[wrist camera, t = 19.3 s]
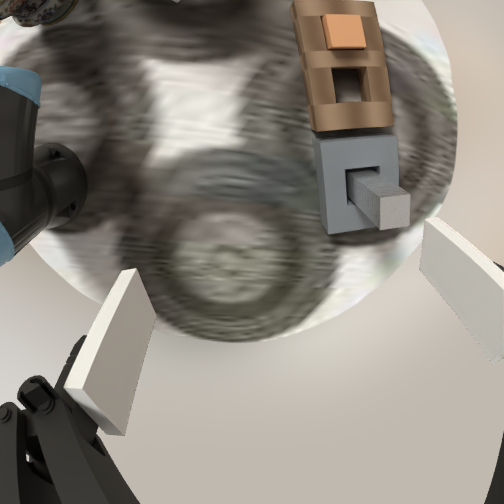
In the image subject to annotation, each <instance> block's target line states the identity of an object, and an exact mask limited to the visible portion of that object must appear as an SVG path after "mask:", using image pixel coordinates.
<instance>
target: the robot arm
mask: <svg viewBox="0 0 504 504" xmlns="http://www.w3.org/2000/svg"><path fill="white" fill-rule="evenodd" d="M41 86H42V81H41V78H40V76H39V75H38V74H37V73H35V72H33V71H30V70H26V69H21V68H14V67H5V66H0V267H1V266H2V265H3V264H5V263H6V262H8V261H10V260H11V259H12V258H13V257H14V256H15V255H16V254H17V253H18V252H19V251H20V250H21V249H22V248H23V247H24V246H25V245H27V243H29V242H30V241H31V240H32V239H33V238H34V237H36V236H37V235H38V234H39V233H40V232H41V231H42V230H44V229H48V228H53V227H58V226H62V225H64V224H66V223H68V222H69V221H70V220H71V219H73V218H74V217H75V216H76V215H77V214H78V213H79V211H80V210H81V208H82V206H83V204H84V201H85V198H86V189H87V185H86V177H85V173H84V170H83V167H82V165H81V163H80V161H79V159H78V158H77V157H76V155H75V154H74V153H73V152H72V151H71V150H70V149H68V148H67V147H65V146H63V145H61V144H57V143H48V144H44V145H41V146H38V147H36V148H34V142H35V131H36V123H37V115H38V109H39V108H40V102H39V101H40V93H41ZM419 270H420V271H421V272H422V274H423V275H424V276H425V277H426V278H427V279H428V281H429V282H430V283H431V284H432V285H433V286H434V288H435V289H436V290H437V291H438V293H439V294H440V295H441V296H442V297H443V299H444V300H445V301H446V302H447V304H448V305H449V306H450V307H451V309H452V310H453V311H454V312H455V314H456V315H457V316H458V318H459V319H460V320H461V321H462V323H463V324H464V325H465V327H466V328H467V329H468V331H469V332H470V333H471V335H472V336H473V337H474V339H475V340H476V341H477V343H478V344H479V346H480V347H481V349H482V350H483V351H484V353H485V354H486V356H487V357H488V359H489V360H490V362H491V363H492V364H493V363H495V362H497V361H499V360H501V359H502V358H504V267H503V266H501V265H499V264H497V263H495V262H492V261H491V260H490V259H489V258H487V257H486V256H485V255H484V254H483V253H482V252H481V251H479V250H478V249H477V248H476V247H475V246H473V245H472V244H471V243H470V242H469V241H467V240H466V239H465V238H464V237H462V236H461V235H460V234H459V233H457V232H456V231H455V230H454V229H452V228H451V227H450V226H448V225H447V224H446V223H444V222H443V221H442V220H441V219H439V218H438V217H434V218H428V219H424V232H423V242H422V251H421V260H420V267H419ZM156 317H157V316H156V313H155V311H154V309H153V307H152V304H151V302H150V300H149V297H148V295H147V292H146V290H145V288H144V285H143V283H142V280H141V278H140V275H139V273H138V270H137V268H135V269H129V270H123V271H121V273H120V275H119V277H118V278H117V280H116V282H115V284H114V286H113V287H112V289H111V291H110V293H109V295H108V296H107V298H106V300H105V302H104V304H103V306H102V308H101V310H100V312H99V314H98V315H97V317H96V319H95V321H94V323H93V325H92V327H91V329H90V331H89V333H88V335H83V336H82V337H81V338H80V339H79V340H78V342H77V343H76V344H75V345H74V347H73V349H72V351H71V353H70V357H68V359H67V361H66V365H65V366H64V368H63V370H62V372H61V374H60V376H59V379H58V381H57V383H56V385H55V387H54V389H53V387H52V386H51V385H50V384H49V383H48V382H47V380H46V379H45V378H44V377H42V376H40V375H38V376H33V377H30V378H28V379H27V380H26V381H25V382H24V383H23V384H22V385H21V387H20V388H19V391H18V394H17V399H18V400H19V402H20V403H21V404H22V405H23V406H24V407H25V408H26V409H25V410H20V409H19V408H18V407H17V406H16V405H15V404H14V403H12V402H6V403H4V404H3V405H1V406H0V504H140V503H139V501H138V500H137V499H136V497H135V496H134V494H133V493H132V491H131V490H130V488H129V486H128V485H127V483H126V482H125V480H124V479H123V477H122V475H121V474H120V472H119V470H118V469H117V467H116V465H115V464H114V462H113V460H112V459H111V457H110V455H109V453H108V451H107V450H106V448H105V446H104V444H103V442H102V441H101V439H100V437H99V436H98V435H97V434H96V432H97V429H98V426H99V427H100V428H101V429H102V430H103V431H104V432H105V433H106V434H108V435H120V436H125V433H126V428H127V424H128V419H129V415H130V411H131V407H132V403H133V399H134V395H135V391H136V387H137V383H138V379H139V375H140V372H141V368H142V365H143V361H144V357H145V354H146V350H147V347H148V343H149V340H150V337H151V333H152V330H153V327H154V323H155V320H156ZM26 454H27V455H29V462H28V461H27V460H26ZM484 504H504V433H503V438H502V443H501V448H500V452H499V456H498V460H497V464H496V468H495V472H494V475H493V478H492V482H491V485H490V488H489V491H488V494H487V497H486V500H485V503H484Z"/></svg>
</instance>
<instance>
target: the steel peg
mask: <svg viewBox="0 0 504 504" xmlns="http://www.w3.org/2000/svg"><path fill="white" fill-rule="evenodd" d="M345 180H346V195H347V196H348V197H349V198H350V199H351V200H352V201H353V202H354V203H355V204H356V205H357V206H358V207H359V208H360V209H361V210H362V211H363V213H364V214H365V215H366V216H367V217H368V218H369V219H370V220H371V221H372V222H373V223H374V224H375V225H376V226H377V227H378V229H379V230H385V229H391V228H398V227H404V226H409V217H410V194H409V193H408V192H406V191H405V190H403V189H402V188H400V187H399V186H397V185H396V184H394V183H393V182H391V181H389V180H388V179H386V178H385V177H383V176H381V175H380V174H378V173H377V172H375V171H373V170H372V169H370V168H368V167H362V168H352V169H345Z"/></svg>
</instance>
